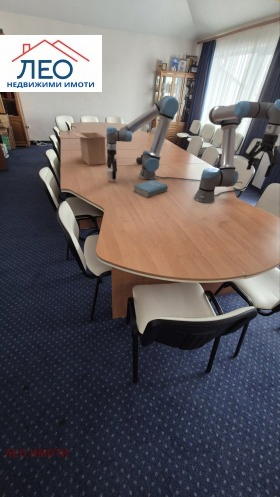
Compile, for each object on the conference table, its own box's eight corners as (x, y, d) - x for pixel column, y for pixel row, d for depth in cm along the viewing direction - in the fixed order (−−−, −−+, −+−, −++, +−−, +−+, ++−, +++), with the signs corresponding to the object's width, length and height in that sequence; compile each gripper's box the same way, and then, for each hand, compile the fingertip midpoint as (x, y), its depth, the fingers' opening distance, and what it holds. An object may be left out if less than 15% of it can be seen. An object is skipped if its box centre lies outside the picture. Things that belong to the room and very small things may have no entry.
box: (116, 165, 229) (116, 136, 213) (83, 168, 214) (80, 137, 198) (102, 154, 259) (101, 128, 243) (71, 156, 244) (68, 129, 228)
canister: (118, 178, 191) (119, 169, 187) (112, 181, 185) (112, 172, 180) (111, 176, 194) (110, 167, 190) (104, 178, 188) (104, 169, 184)
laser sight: (155, 166, 234) (156, 156, 228) (135, 164, 237) (135, 154, 231) (157, 164, 242) (158, 154, 236) (137, 161, 245) (137, 152, 239)
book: (152, 185, 190) (153, 179, 187) (167, 191, 181) (167, 185, 178) (133, 191, 176) (133, 185, 173) (147, 198, 167) (148, 191, 164)
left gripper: (102, 146, 181) (103, 173, 195) (112, 152, 167) (112, 181, 180) (110, 145, 185) (111, 172, 198) (121, 152, 170) (121, 180, 183)
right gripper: (249, 129, 127) (237, 167, 140) (287, 138, 109) (269, 180, 122) (258, 129, 130) (245, 166, 143) (297, 138, 112) (279, 179, 125)
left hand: (112, 177), depth 189 cm, fingers closed on canister, 9 cm apart
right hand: (256, 173), depth 132 cm, fingers open, 13 cm apart
